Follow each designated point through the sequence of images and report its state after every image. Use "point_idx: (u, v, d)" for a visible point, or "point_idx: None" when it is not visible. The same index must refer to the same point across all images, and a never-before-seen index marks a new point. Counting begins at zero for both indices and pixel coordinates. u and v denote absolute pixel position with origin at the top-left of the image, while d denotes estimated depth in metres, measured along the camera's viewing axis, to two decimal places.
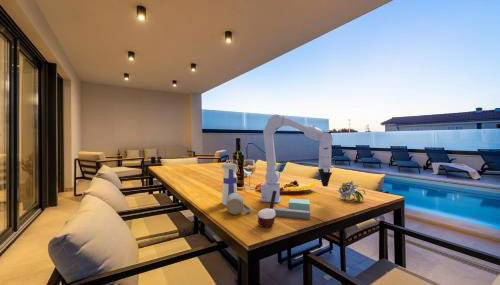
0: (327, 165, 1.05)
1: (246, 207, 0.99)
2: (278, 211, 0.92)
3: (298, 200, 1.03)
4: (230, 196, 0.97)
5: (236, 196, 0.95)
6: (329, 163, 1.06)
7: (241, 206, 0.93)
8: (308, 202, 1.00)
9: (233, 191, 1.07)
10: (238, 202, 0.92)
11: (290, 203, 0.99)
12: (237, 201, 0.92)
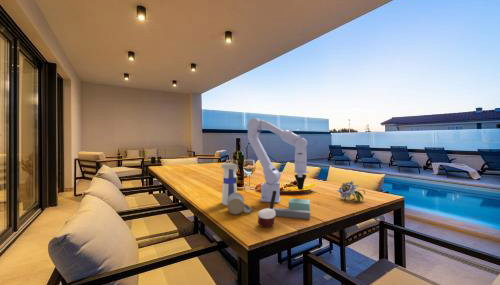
0: (302, 170, 1.07)
1: (247, 207, 0.99)
2: (278, 211, 0.92)
3: (298, 200, 1.03)
4: (231, 196, 0.97)
5: (237, 196, 0.95)
6: (304, 168, 1.07)
7: (242, 206, 0.93)
8: (308, 202, 0.99)
9: (233, 191, 1.07)
10: (239, 202, 0.92)
11: (290, 203, 0.99)
12: (238, 201, 0.92)
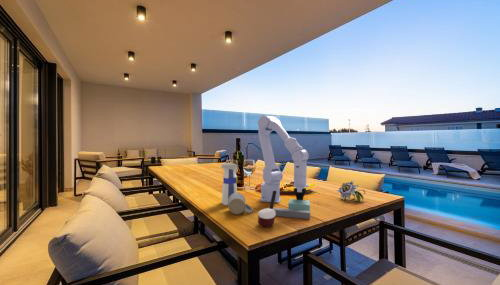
0: (302, 184, 1.02)
1: (248, 207, 0.99)
2: (278, 211, 0.92)
3: (298, 201, 1.01)
4: (232, 196, 0.97)
5: (238, 196, 0.95)
6: (304, 182, 1.02)
7: (243, 206, 0.93)
8: (308, 203, 0.98)
9: (233, 191, 1.07)
10: (240, 202, 0.93)
11: (290, 204, 0.98)
12: (239, 201, 0.92)
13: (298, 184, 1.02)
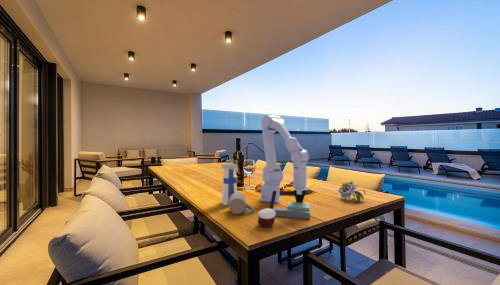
0: (301, 186, 0.98)
1: (248, 207, 0.99)
2: (278, 211, 0.92)
3: (297, 203, 0.97)
4: (232, 196, 0.97)
5: (238, 196, 0.95)
6: (304, 184, 0.98)
7: (244, 206, 0.93)
8: (308, 206, 0.94)
9: (233, 191, 1.07)
10: (241, 202, 0.93)
11: (289, 207, 0.94)
12: (240, 201, 0.92)
13: (298, 186, 0.98)
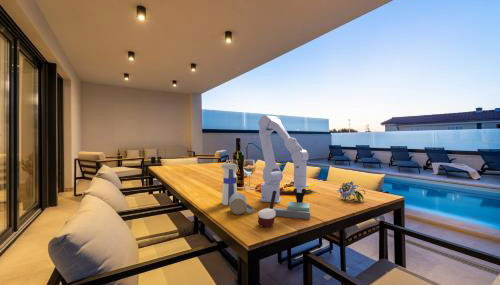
0: (301, 184, 1.01)
1: (249, 207, 0.99)
2: (278, 211, 0.92)
3: (297, 204, 0.97)
4: (233, 196, 0.97)
5: (239, 196, 0.95)
6: (304, 182, 1.01)
7: (244, 206, 0.93)
8: (308, 206, 0.94)
9: (233, 191, 1.07)
10: (241, 202, 0.93)
11: (289, 207, 0.94)
12: (240, 201, 0.93)
13: (298, 184, 1.01)
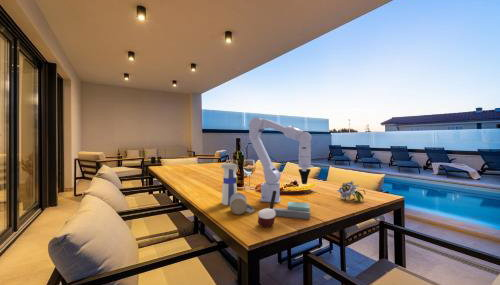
0: (306, 164, 1.06)
1: (249, 207, 0.99)
2: (278, 211, 0.92)
3: (297, 204, 0.97)
4: (234, 196, 0.97)
5: (240, 196, 0.95)
6: (308, 162, 1.07)
7: (245, 206, 0.93)
8: (308, 206, 0.94)
9: (233, 191, 1.07)
10: (242, 202, 0.93)
11: (289, 207, 0.94)
12: (241, 201, 0.93)
13: (303, 164, 1.07)
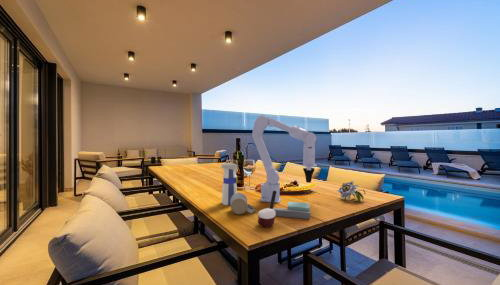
0: (310, 163, 1.10)
1: (250, 207, 0.99)
2: (278, 211, 0.92)
3: (297, 204, 0.97)
4: (234, 196, 0.97)
5: (240, 196, 0.95)
6: (312, 161, 1.11)
7: (245, 206, 0.93)
8: (308, 206, 0.94)
9: (233, 191, 1.07)
10: (242, 202, 0.93)
11: (289, 207, 0.94)
12: (241, 201, 0.93)
13: (307, 163, 1.11)
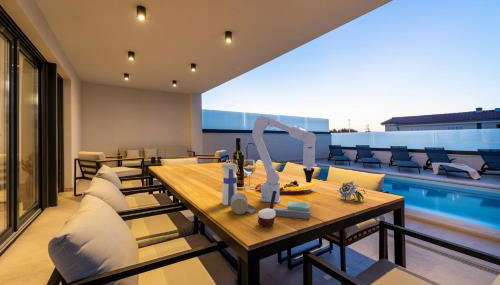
0: (310, 163, 1.10)
1: (250, 207, 0.99)
2: (278, 211, 0.92)
3: (297, 204, 0.97)
4: (234, 196, 0.97)
5: (241, 196, 0.95)
6: (312, 161, 1.11)
7: (246, 206, 0.93)
8: (308, 206, 0.94)
9: (233, 191, 1.07)
10: (243, 202, 0.93)
11: (289, 207, 0.94)
12: (242, 201, 0.93)
13: (307, 163, 1.11)
